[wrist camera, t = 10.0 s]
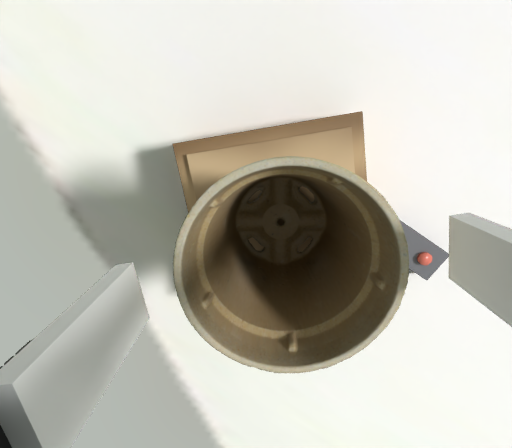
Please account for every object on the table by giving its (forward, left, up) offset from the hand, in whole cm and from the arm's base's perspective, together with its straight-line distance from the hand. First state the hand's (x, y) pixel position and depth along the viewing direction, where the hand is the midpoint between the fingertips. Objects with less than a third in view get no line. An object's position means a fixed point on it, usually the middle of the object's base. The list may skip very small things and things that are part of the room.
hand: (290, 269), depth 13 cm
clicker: (+5, +10, -12) cm, 16 cm away
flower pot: (0, 0, -8) cm, 8 cm away
